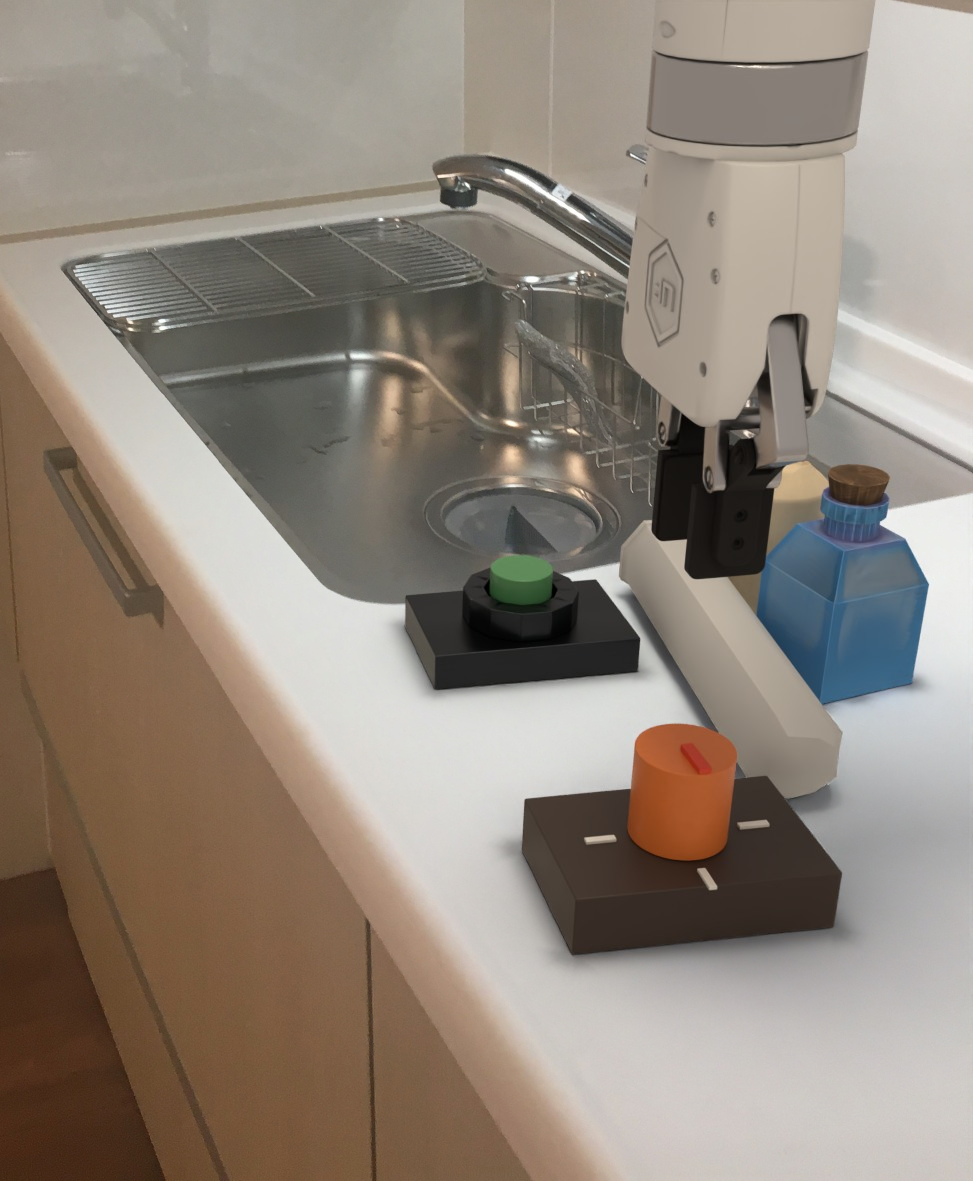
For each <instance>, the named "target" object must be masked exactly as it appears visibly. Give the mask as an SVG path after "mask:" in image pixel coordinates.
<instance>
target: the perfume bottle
mask: <svg viewBox="0 0 973 1181" xmlns="http://www.w3.org/2000/svg"><path fill="white" fill-rule="evenodd" d="M827 478H828V479H827V481H828V482H829V487H827V488H825V489H824V490H823V493H822V498H821V506H820V510H821V512H822V513H823V514H824V515H825V517H824V518H823V519H818V520H813V521H808V522H803V523H798V524H796V525H795V526H794V527H793V528H792V530H791V531H790V532H789V533H788V534H787V535H786V536H785V537H784V538H783V539H782V540H781V541H780V542H779V543H778V544H777V545H776V546H775V548H774V549H773V550H772V551H771V552H770V553H769V554H768V555H767V556H766V562H765V567H764V569H763V570H762V573H761V581H760V589H759V598H758V606H757V614H756V616H757V617H758V619H759V620H760V622H761V623H762V624H763V626H764V627H765V628H766V630H767V631H768V632H769V634H770V635H771V636H772V638H773V639H774V640H775V642H776V643H777V644H778V646H779V647H780V649H781V650H782V651H783V653H784V654H785V655H786V657H787V658H788V659H789V661H790V662H791V663H792V665H793V666H794V667H795V669H796V670H797V671H798V673H799V674H800V676H801V677H802V678H803V680H804V681H805V682H806V684H807V685H808V686H809V688H810V689H811V690H812V692H813V693H814V694H815V696H816V697H817V698H818V700H819V701H820V703H821V704H822V705H823V704H827V703H832V702H837V701H841V700H845V699H849V698H853V697H858V696H862V695H867V694H870V693H871V694H872V693H875V692H880V691H884V690H887V689H888V690H889V689H892V688H898V687H901V686H905V685H909V684H912V683H913V681H914V680H913V679H914V673H915V668H916V662H917V656H918V650H919V645H920V640H921V639H920V638H921V633H922V627H923V622H924V617H925V616H924V615H925V610H926V604H927V599H928V593H929V588H930V583H929V581H928V579H927V577H926V575H925V574H924V572H923V569H922V568H921V566H920V564H919V562H918V560H917V558H916V556H915V555H914V552H913V551H912V549H911V546H910V544H909V543H908V540H907V539H906V538H905V537H903V536H902V535H900V534H898V533H896V532H895V531H892V530H890V529H889V528H886V527H885V526H883V525H881V522H883V521H884V520H885V519H887V516H888V511H889V505H890V496H889V495H888V494H887V493H886V489H887V487H888V485H889V482H890V479H891V476H890V475H889V474H888V473H887V472H886V471H884V469H880V468H877V467H874V466H871V465H865V464H859V463H858V464H856V463H853V464H852V463H847V464H839V465H835V466H832V467H831V468H829V469H828V471H827Z"/></svg>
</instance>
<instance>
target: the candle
mask: <svg viewBox="0 0 973 1181" xmlns="http://www.w3.org/2000/svg"><path fill="white" fill-rule="evenodd" d="M827 487H829V480H828V479H827V478H826V477H825V476H824V475H823V474H822V473H821V471H820V470H819V469H817V468H816V467H815V466H814V465H812V463H811V462H810V461H808V460H804V461H800V462H797V463H793V464H790V465H786V466H785V467H784V468H783V469H782V478H781V483H780V485H779V487H777V488H774V496H773V505H772V513H771V521H770V529H769V537H768V546H767V554H766V556H767V555H768V554H769V553H770V552H771V551H772V550H773V549H774V548H775V546H776V545H777V544H778V543H779V542H780V541H781V540H782V539H783V538H784V537H785V536H786V535H787V534H788V533H789V532H790V531H791V530H792V528H793V527H794V526H795V525H796V524H798V523H803V522H808V521H813V520H818V519H823V518H824V517H825V515H824V514H823V513H822V512H821V510H820V506H821V498H822V493H823V490H824V489H825V488H827ZM761 573H762V571H761V572H760V573H758V574H755V575H744V576H732V577H728V578H729V580H730V581H731V582H732V584H733V585H734V586H735V588H736V589H737V591H738V592H739V593H740V595H741V596H742V597H743V599H744V600H745V601H746V603H747V604H748V605H749V607H750V608H751V609H752V611H753V612H754V613H755V615H756V614H757V606H758V598H759V589H760V581H761Z"/></svg>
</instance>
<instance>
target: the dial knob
mask: <svg viewBox="0 0 973 1181" xmlns="http://www.w3.org/2000/svg"><path fill="white" fill-rule="evenodd" d="M633 746H634V749H633V757H632V769H631V770H632V771H631V781H630V789H631V792H630V803H629V815H628V826H627V827H628V833H629V835H630V837H631V839H632V840H633V841H634V842H635V843H636V844H637V845H638V846H639V847H641V848H642V849H644V850H646V851H647V852H649V853H652V854H654V855H657V856H660V857H663V858H667V859H673V860H681V861H692V860H700V859H705V858H708V857H711V856H713V855H715V854H717V853H719V852H720V851H721V850H722V849H723V848H724V846H725V845H726V843H727V837H728V829H729V821H730V812H731V804H732V796H733V788H734V779H736V770H737V764H738V763H737V750H736V748H735V746H734V745H733V743H732V742H731V741H730V740H729V739H727V738H726V737H725V736H723V735H721V734H719V732H718V731H715V730H713V729H711V728H708V727H705V726H700V725H695V724H688V723H664V724H663V723H662V724H658V725H654V726H651V727H649V728H647V729H645V730H643V731H642V732H640V733H639V734H638V735H637V737H636V739H635V741H634V745H633Z"/></svg>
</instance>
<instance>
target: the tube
mask: <svg viewBox="0 0 973 1181" xmlns="http://www.w3.org/2000/svg"><path fill="white" fill-rule="evenodd" d="M651 527H652V519H644V520H642V522H641V523H640V524H639V525H638V526H637V527H636V529H635V530H634V531H633V532H632V533H631V534H630V535H629V537H627V539H626V540H625V541H624V542H623V543H622V545H621V546H620V554H619V556H620V557H619V569H618V570H619V571H618V578H619V579H620V580H621V581H622V582H623V583H625V584H627V585H628V586H629V588H630V590H631V591H632V592H633V594H634V596H635V597H636V599H637V601H638V602H639V605H640V606H641V607H642V609H643V611H644V613H645V614H646V616H647V618H648V619H649V621H650V623H651V624H652V626H653V627H654V629H655V630H656V633H657V634H658V636H659V637H660V639H661V640H662V642H663V643H664V646H665V647H666V649H667V650H668V652H669V654H670V655H671V656H672V658H673V660H674V661H675V663H676V665H677V667H678V669H679V670H680V671H681V674H682V675H683V676H684V679H685V680H686V681H687V683H688V685H689V686H690V689H691V690H692V691H693V693H694V694H695V696H696V697H697V700H698V701H699V703H700V704H701V706H702V708H703V709H704V711H705V712H706V714H707V716H708V717H709V719H710V720H711V722H712V724H713V726H714V727H715V729H716V730H717V732H718V733H719V734H721V735H723V736H725V737H726V738H727V739H729V740H730V741H731V742H732V743H733V745H734V746H735V748H736V750H737V763H736V764H737V765H738V766H739V768H740V770H741V772H742V773H743V775H744V776H745V778H746V777H757V776H768V778H769V779H770V780H771V781H772V783H773V784H774V785H775V787H776V788H777V789H778V790H779V792H780V793H781V794H782V796H783V797H784V798H785V799H787V800H788V799H792V798H797V797H802V796H807V795H811V794H814V793H815V792H817V791H819V790H820V789H822V787H824V786H825V785H827V784H829V783H830V782H832V780H834V779H836V778H837V776H838V763H839V757H840V752H841V744H842V737H843V730H841V728H840V727H839V725H838V724H837V723H836V721H835V720H834V718H833V717H832V716H831V715H830V713H829V712H828V710H827V709H826V708H825V706H824V705H823V704H821V703H820V701H819V700H818V698H817V697H816V696H815V694H814V693H813V692H812V690H811V689H810V688H809V686H808V685H807V684H806V682H805V681H804V680H803V678H802V677H801V676H800V674H799V673H798V671H797V670H796V669H795V667H794V666H793V665H792V663H791V662H790V661H789V659H788V658H787V657H786V655H785V654H784V653H783V651H782V650H781V649H780V647H779V646H778V644H777V643H776V642H775V640H774V639H773V638H772V636H771V635H770V634H769V632H768V631H767V630H766V628H765V627H764V626H763V624H762V623H761V622H760V620H759V619H758V617H757V616H756V615H755V613H754V612H753V611H752V609H751V608H750V607H749V605H748V604H747V603H746V601H745V600H744V599H743V597H742V596H741V595H740V593H739V592H738V591H737V589H736V588H735V586H734V585H733V584H732V582H731V581H730V580H729V578H728V577H720V578H709V579H693V578H691V577H690V576H689V575H688V573H687V572H686V571H685V569H684V564H685V553H686V543H687V539H686V540H674V541H659V540H658V539H657V538H656V537H655V536H654V535H653V533H652V531H651Z"/></svg>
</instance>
